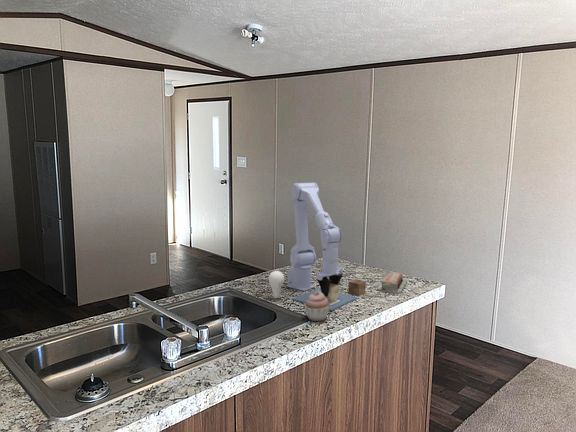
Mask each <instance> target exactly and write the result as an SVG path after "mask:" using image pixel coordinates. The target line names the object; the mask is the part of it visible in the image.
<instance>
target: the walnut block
mask: <svg viewBox="0 0 576 432" xmlns="http://www.w3.org/2000/svg"><path fill="white" fill-rule="evenodd" d="M366 286H367V281H365V280H362V279H358V278H354V279H351V280H349V281H348V290H347V294H348V295H352V296H356V297H357V296H358V297H359V296H362V295H364V294H366Z"/></svg>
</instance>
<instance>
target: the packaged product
mask: <svg viewBox="0 0 576 432" xmlns="http://www.w3.org/2000/svg"><path fill="white" fill-rule="evenodd" d="M403 274H404V273H401V272H398V271H396V272H390V273H389V272H388V273H387V274H386V275H385V277H384V278H383V280H382V281H381V283H380V284H379V285H378V287H377V289H376V290H377V291H378V292H385V293H393V294H398V295H400V294H402V292H403V290H404V289H405V288H406V285H407V283H408V278H403V277H404V276H403Z"/></svg>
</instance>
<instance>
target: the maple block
mask: <svg viewBox="0 0 576 432" xmlns="http://www.w3.org/2000/svg"><path fill="white" fill-rule="evenodd" d="M319 288H320V287H319ZM339 288H340V285H339V284H338V285H336V284H332V283H330V286H329V292H328V296H327V297H326V296H325V297H326V298H327V299H328V300H329V301H332V300H335V299H337V298H339V293H340V291H339V290H340V289H339ZM320 292H321V288H320ZM321 293H322V292H321Z"/></svg>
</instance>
